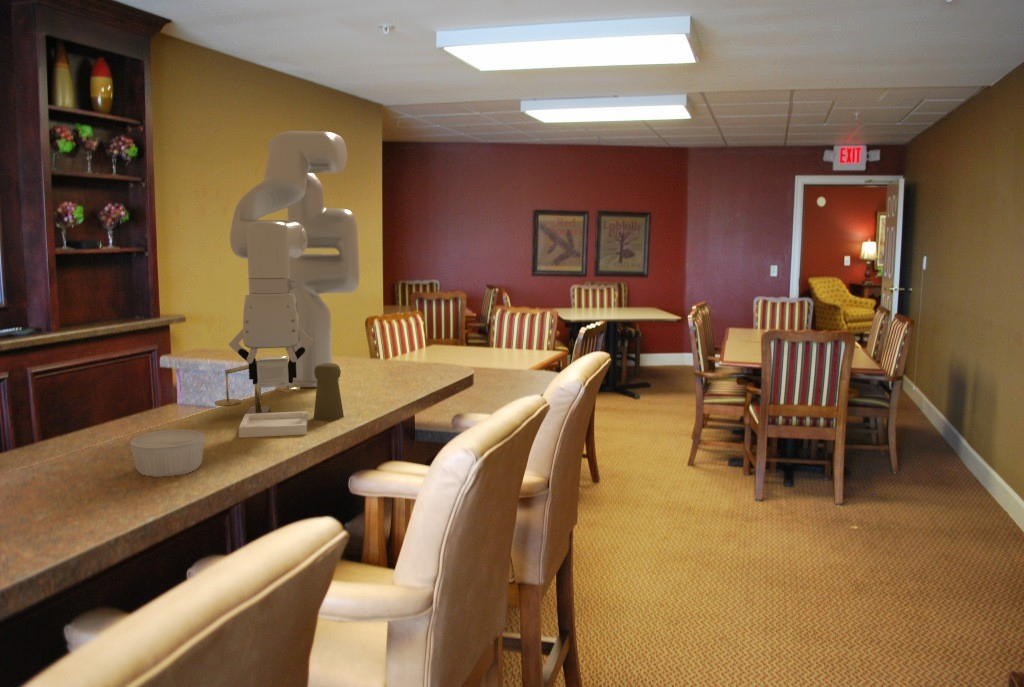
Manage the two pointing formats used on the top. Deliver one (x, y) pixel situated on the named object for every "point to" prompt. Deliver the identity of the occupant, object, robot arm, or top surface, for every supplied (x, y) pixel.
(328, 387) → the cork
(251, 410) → the balance
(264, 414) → the dish
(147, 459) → the ramekin
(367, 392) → the top surface
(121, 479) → the top surface
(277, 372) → the small box
